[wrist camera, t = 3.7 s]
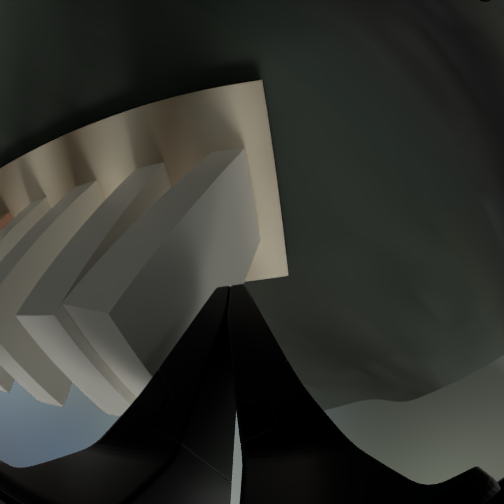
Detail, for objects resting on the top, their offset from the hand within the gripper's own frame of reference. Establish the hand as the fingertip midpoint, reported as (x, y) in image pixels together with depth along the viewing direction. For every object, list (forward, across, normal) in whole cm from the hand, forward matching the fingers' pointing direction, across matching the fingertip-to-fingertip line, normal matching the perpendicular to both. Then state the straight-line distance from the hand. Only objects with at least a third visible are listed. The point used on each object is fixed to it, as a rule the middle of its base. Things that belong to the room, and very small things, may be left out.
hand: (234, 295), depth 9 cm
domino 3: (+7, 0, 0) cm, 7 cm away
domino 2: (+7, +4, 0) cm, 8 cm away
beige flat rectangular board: (+8, +9, 0) cm, 12 cm away
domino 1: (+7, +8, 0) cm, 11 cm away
